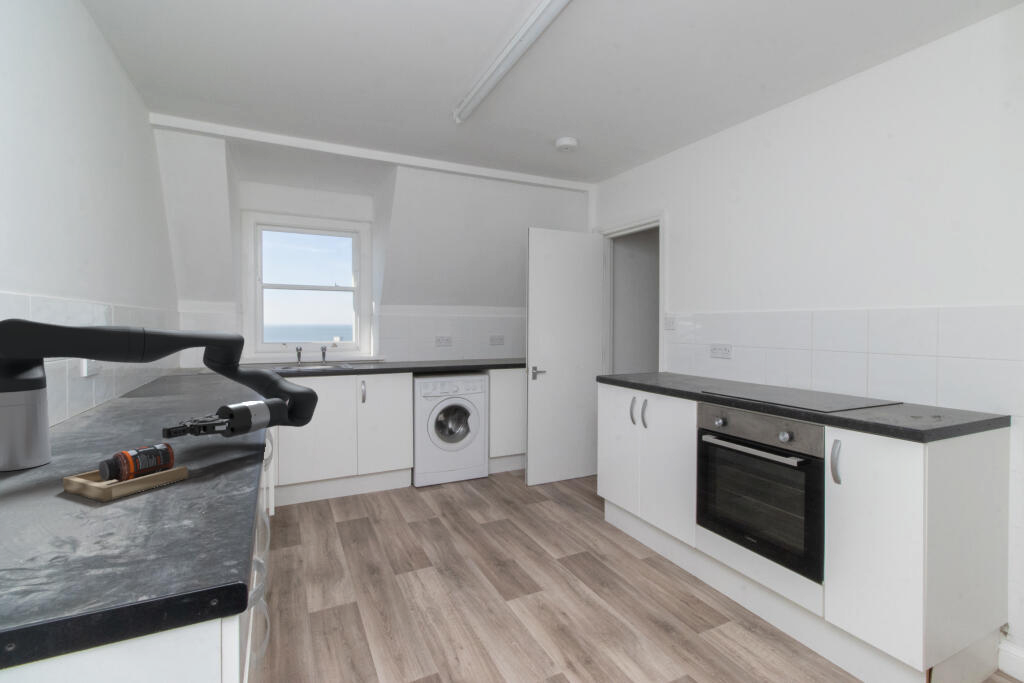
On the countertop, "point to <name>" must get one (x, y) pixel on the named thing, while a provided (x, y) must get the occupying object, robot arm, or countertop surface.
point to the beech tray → (119, 484)
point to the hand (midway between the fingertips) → (164, 433)
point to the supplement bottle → (137, 462)
